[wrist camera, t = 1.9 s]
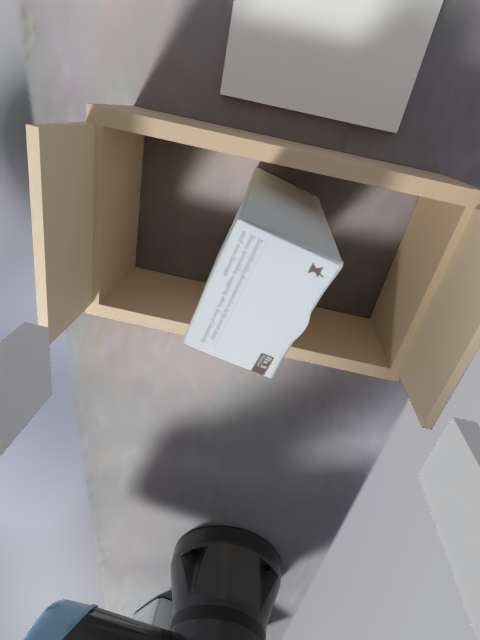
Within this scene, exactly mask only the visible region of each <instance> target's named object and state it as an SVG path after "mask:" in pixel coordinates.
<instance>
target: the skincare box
mask: <svg viewBox="0 0 480 640" xmlns="http://www.w3.org/2000/svg"><path fill="white" fill-rule="evenodd" d="M343 263H344V262H343V261H342V259H341V256H340V254H339V251H338V249H337V246H336V243H335V241H334V238H333V235H332V233H331V230H330V227H329V224H328V222H327V219H326V217H325V214H324V211H323V208H322V205H321V203H320V200H319V198H318V197H317V196H315V195H313V194H311V193H309V192H307V191H305V190H303V189H301V188H299V187H297V186H295V185H293V184H291V183H289V182H286V181H284V180H282V179H280V178H278V177H276V176H274V175H272V174H270V173H268V172H266V171H264V170H262V169H260V168H255V170H254V172H253V174H252V177H251V180H250V183H249V185H248V188H247V190H246V193H245V195H244V198H243V200H242V203H241V205H240V207H239V210H238V212H237V214H236V216H235V219H234V221H233V223H232V226H231V228H230V230H229V232H228V234H227V236H226V238H225V240H224V242H223V244H222V246H221V248H220V250H219V252H218V254H217V256H216V259H215V261H214V264H213V267H212V269H211V272H210V275H209V277H208V279H207V282H206V285H205V287H204V290H203V292H202V295H201V298H200V300H199V303H198V306H197V308H196V310H195V313H194V315H193V318H192V320H191V322H190V325H189V327H188V330H187V332H186V335H185V338H184V341H183V342H184V344H186V345H189V346H191V347H193V348H195V349H198V350H200V351H203V352H205V353H208V354H210V355H213V356H215V357H218V358H220V359H223V360H226V361H228V362H230V363H233V364H236V365H238V366H241V367H243V368H246V369H248V370H251V371H254V372H256V373H259V374H261V375H264V376H266V377H268V378H272V377H273V376H274V374H275V372H276V370H277V369H278V367H279V365H280V364H281V362H282V360H283V358H284V357H285V355H286V353H287V352H288V350H289V349H290V347H291V345H292V344H293V342H294V341H295V340H296V339H297V338H298V337H299V336H300V335H301V334H302V333H303V332H304V330H305V329H306V327H307V325H308V323H309V321H310V315H311V313H312V311H313V310H314V308H315V306H316V305H317V303H318V302H319V300H320V298H321V297H322V295H323V294H324V292H325V291H326V289H327V288H328V286H329V285H330V284H331V282H332V281H333V280H334V278H335V277H336V276H337V274H338V273H339V272H340V270H341V269H342V267H343Z"/></svg>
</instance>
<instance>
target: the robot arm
mask: <svg viewBox="0 0 480 640" xmlns="http://www.w3.org/2000/svg"><path fill="white" fill-rule="evenodd" d="M50 368H51V367H50V348H49V329H48V327H44V326H40V325H35V324H31V323H26V322H25V323H23V324H22V325H21V326H19V327H18V328H17V329H16V330H15V331H13V332H12V333H11V334H10V335H9V336H7V337H6V338H5V339H3V340H2V341H1V342H0V456H1V455H2V454H3V453H4V451H5V450H6V449H7V448H8V447H9V445H10V444H11V443H12V442H13V440H14V439H15V438H16V437H17V436H18V435H19V433H20V432H21V431H22V429H23V428H24V427H25V426H26V425H27V423H28V422H29V421H30V420H31V418H33V416H34V415H35V414H36V412H37V411H38V410H39V409H40V408H41V407H42V405H43V404H44V403H45V402H46V401H47V399H48V398H49V397H50V396H51V395H52V387H51V369H50ZM418 478H419V481H420V484H421V487H422V489H423V492H424V495H425V498H426V501H427V503H428V506H429V509H430V512H431V515H432V517H433V520H434V523H435V526H436V528H437V531H438V534H439V537H440V540H441V542H442V545H443V548H444V551H445V554H446V556H447V559H448V562H449V565H450V568H451V570H452V573H453V576H454V579H455V581H456V584H457V587H458V590H459V592H460V595H461V598H462V601H463V604H464V606H465V609H466V612H467V615H468V618H469V620H470V623H471V626H472V629H473V631H474V634H475V637H476V640H480V428H479V426H478V424H477V423H476V422H473V421H468V420H464V419H459V418H455V417H452V419H451V421H450V422H449V424H448V426H447V427H446V429H445V431H444V432H443V434H442V435H441V437H440V439H439V440H438V442H437V444H436V445H435V447H434V449H433V450H432V452H431V454H430V455H429V457H428V458H427V460H426V462H425V463H424V465H423V466H422V468H421V470H420V471H419V473H418ZM171 582H172V601H173V617H172V621H171V626H170V630H166V629H163V628H160V627H157V626H154V625H151V624H148V623H145V622H141V621H138V620H135V619H132V618H129V617H126V616H122V615H119V614H116V613H113V612H110V611H107V610H104V609H101V608H98V606H97V605H95V604H92V605H87V604H83V603H79V602H74V601H70V600H60V601H57V602H54V603H53V604H51V605H50V606H49V607H48V608H47V609H46V610H45V611H44V612H43V613H42V614H41V616H40V617H39V618H38V620H37V621H36V622H35V624H34V625H33V626H32V628H31V629H30V631H29V632H28V634H27V635H26V637H25V638H24V640H266V628H267V625H268V622H269V618H270V615H271V612H272V609H273V606H274V603H275V600H276V597H277V594H278V591H279V587H280V583H281V561H280V557H279V555H278V553H277V552H276V550H275V549H274V548H273V547H272V546H271V545H270V544H269V543H268V542H267V541H265V540H264V539H262V538H261V537H259V536H257V535H255V534H253V533H250V532H247V531H244V530H241V529H237V528H231V527H220V526H216V527H205V528H200V529H197V530H194V531H192V532H190V533H188V534H186V535H185V536H183V537H182V538H181V539H180V540H179V541H178V543H177V545H176V547H175V550H174V554H173V558H172V562H171Z"/></svg>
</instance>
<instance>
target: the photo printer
mask: <svg viewBox="0 0 480 640" xmlns="http://www.w3.org/2000/svg"><path fill="white" fill-rule="evenodd" d="M172 617H173V602H172V601H170V600H168V599H165V598H161V599H156V600H154V601H152V602H151V603H149V604H148V605H146V606H145V607H144V608H142V609H141V610H139V611H138V612H137V613H135V614H134V615H133V616H132V619H135V620H138V621H141V622H145V623H148V624H151V625H154V626H157V627H160V628H163V629H166V630H170V626H171V621H172Z"/></svg>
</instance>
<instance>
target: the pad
mask: <svg viewBox="0 0 480 640" xmlns="http://www.w3.org/2000/svg"><path fill="white" fill-rule="evenodd" d="M442 3H443V0H234V2H233V9H232V16H231V23H230V29H229V36H228V43H227V50H226V57H225V63H224V70H223V77H222V84H221V90H220V94H221V95H226V96H230V97H235V98H239V99H244V100H248V101H253V102H257V103H262V104H266V105H271V106H275V107H280V108H284V109H289V110H293V111H298V112H302V113H307V114H311V115H316V116H320V117H325V118H329V119H334V120H338V121H343V122H347V123H352V124H356V125H361V126H365V127H370V128H374V129H379V130H383V131H388V132H392V133H397V132H398V129H399V126H400V123H401V120H402V117H403V114H404V112H405V109H406V106H407V103H408V100H409V97H410V94H411V92H412V89H413V86H414V83H415V80H416V77H417V75H418V72H419V69H420V66H421V63H422V60H423V57H424V55H425V52H426V49H427V46H428V43H429V40H430V37H431V35H432V32H433V29H434V26H435V23H436V20H437V17H438V15H439V12H440V9H441V6H442Z"/></svg>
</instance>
